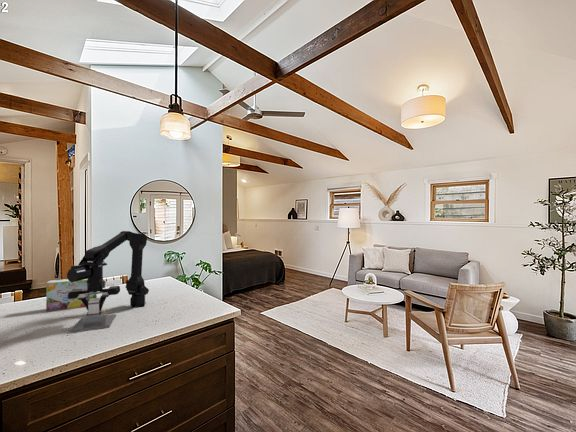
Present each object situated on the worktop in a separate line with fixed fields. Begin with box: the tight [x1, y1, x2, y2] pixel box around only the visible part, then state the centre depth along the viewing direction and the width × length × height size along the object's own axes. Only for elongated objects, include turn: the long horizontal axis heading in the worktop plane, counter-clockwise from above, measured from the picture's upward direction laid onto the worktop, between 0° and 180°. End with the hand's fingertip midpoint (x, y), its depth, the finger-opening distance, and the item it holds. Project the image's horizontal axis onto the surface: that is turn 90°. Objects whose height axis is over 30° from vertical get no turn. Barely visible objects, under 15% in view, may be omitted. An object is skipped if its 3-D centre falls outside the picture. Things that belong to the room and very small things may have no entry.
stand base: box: [69, 308, 117, 333], centre depth 120 cm, size 14×14×6 cm
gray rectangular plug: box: [87, 297, 102, 315], centre depth 120 cm, size 4×4×10 cm
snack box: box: [45, 278, 99, 312], centre depth 141 cm, size 21×6×15 cm, turn 117°
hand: (95, 310), depth 120 cm, fingers closed on gray rectangular plug, 4 cm apart
